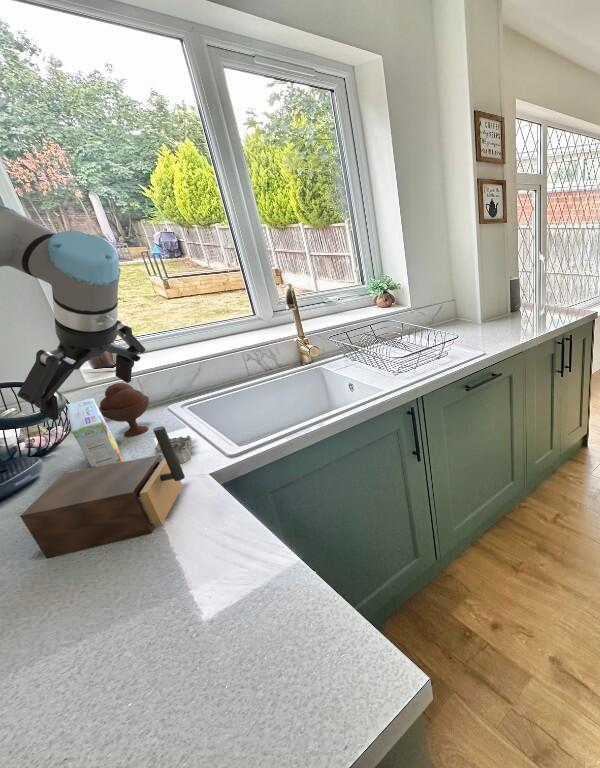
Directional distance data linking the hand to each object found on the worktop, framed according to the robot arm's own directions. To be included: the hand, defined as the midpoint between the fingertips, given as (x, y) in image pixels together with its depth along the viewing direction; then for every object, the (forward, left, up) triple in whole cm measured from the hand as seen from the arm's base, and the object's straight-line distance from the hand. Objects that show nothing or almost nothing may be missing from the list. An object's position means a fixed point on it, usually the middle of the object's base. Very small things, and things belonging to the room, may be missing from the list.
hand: (89, 396), depth 82 cm
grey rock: (-15, +10, -25) cm, 31 cm away
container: (+8, -1, -24) cm, 25 cm away
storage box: (+6, -4, -25) cm, 26 cm away
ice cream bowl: (-41, +6, -25) cm, 48 cm away
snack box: (-24, -2, -25) cm, 35 cm away
